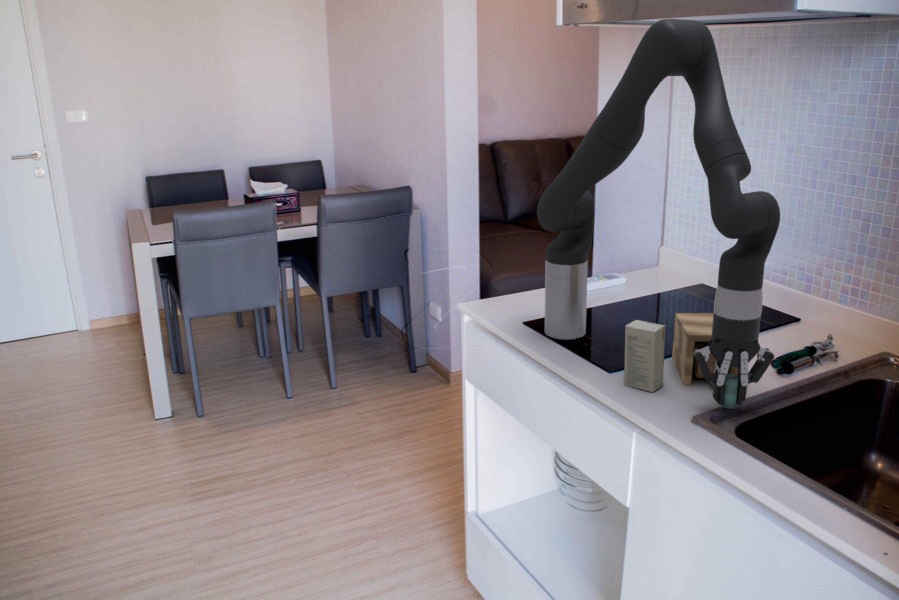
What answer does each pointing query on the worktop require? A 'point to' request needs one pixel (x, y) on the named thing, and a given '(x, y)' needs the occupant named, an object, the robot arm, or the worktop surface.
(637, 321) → the skincare box
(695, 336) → the oak cubby
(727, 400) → the mallet
